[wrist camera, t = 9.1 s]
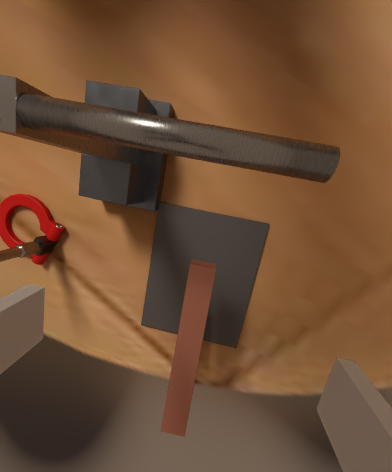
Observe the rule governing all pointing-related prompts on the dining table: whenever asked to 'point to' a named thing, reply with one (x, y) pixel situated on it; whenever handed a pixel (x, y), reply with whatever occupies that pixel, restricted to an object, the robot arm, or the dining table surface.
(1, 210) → the tow hook
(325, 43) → the dining table surface
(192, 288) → the reddish-brown c-shaped bracket
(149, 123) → the toilet paper holder
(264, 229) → the mat
